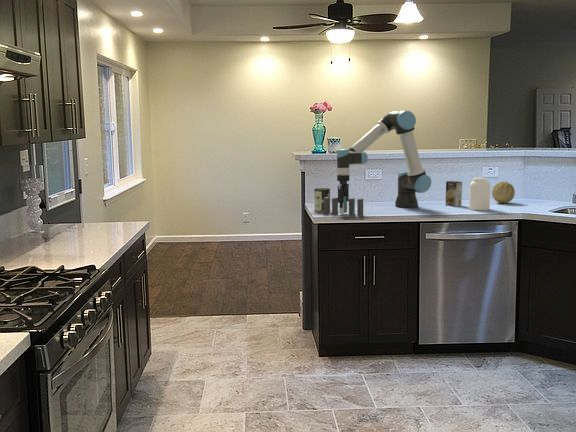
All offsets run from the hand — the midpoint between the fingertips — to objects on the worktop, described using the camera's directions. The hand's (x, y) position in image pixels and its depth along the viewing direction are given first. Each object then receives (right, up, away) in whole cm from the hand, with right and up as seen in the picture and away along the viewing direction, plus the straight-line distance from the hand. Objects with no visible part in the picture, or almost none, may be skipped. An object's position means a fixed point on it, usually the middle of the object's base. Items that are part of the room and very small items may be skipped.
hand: (343, 212), depth 376 cm
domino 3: (+5, -2, -2) cm, 6 cm away
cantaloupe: (+113, +6, +41) cm, 120 cm away
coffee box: (+77, +5, +35) cm, 85 cm away
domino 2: (-5, -1, +3) cm, 6 cm away
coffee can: (-12, +1, +19) cm, 23 cm away
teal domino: (0, 0, 0) cm, 0 cm away
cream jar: (+88, +2, +13) cm, 88 cm away
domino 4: (+10, -2, -5) cm, 11 cm away
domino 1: (-10, -1, +5) cm, 11 cm away
